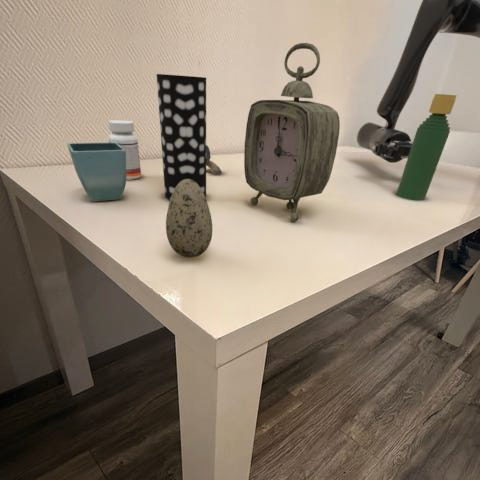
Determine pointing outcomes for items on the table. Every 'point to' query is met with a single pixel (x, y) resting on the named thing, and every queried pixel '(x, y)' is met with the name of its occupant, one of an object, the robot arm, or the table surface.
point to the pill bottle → (126, 146)
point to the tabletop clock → (291, 142)
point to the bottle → (424, 157)
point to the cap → (442, 104)
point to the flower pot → (100, 169)
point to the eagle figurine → (212, 163)
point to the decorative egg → (188, 220)
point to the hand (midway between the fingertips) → (413, 155)
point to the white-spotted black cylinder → (182, 129)
